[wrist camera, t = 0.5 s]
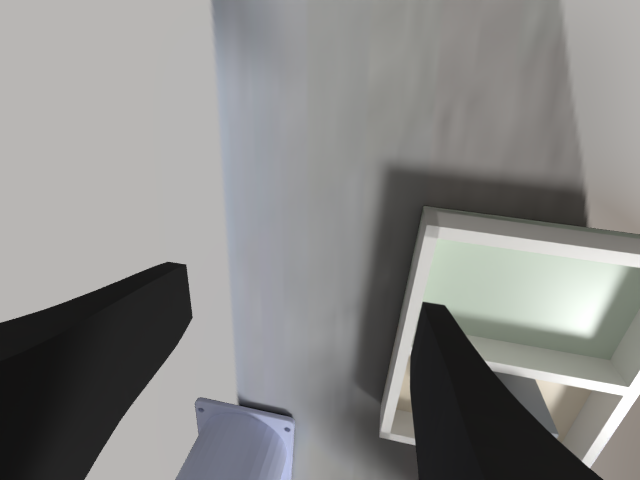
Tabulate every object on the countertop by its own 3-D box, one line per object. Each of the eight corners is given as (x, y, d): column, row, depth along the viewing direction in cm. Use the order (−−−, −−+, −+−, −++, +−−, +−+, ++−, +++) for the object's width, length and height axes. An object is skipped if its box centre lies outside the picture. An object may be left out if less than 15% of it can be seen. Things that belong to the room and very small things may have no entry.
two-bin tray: (563, 443, 24) (580, 481, 22) (380, 404, 26) (379, 437, 23) (683, 240, 17) (724, 266, 15) (423, 205, 19) (426, 224, 17)
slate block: (511, 418, 23) (531, 482, 20) (446, 405, 24) (454, 465, 20) (532, 372, 21) (559, 434, 18) (461, 359, 22) (474, 417, 18)
